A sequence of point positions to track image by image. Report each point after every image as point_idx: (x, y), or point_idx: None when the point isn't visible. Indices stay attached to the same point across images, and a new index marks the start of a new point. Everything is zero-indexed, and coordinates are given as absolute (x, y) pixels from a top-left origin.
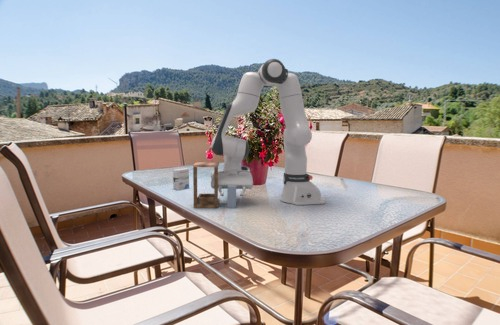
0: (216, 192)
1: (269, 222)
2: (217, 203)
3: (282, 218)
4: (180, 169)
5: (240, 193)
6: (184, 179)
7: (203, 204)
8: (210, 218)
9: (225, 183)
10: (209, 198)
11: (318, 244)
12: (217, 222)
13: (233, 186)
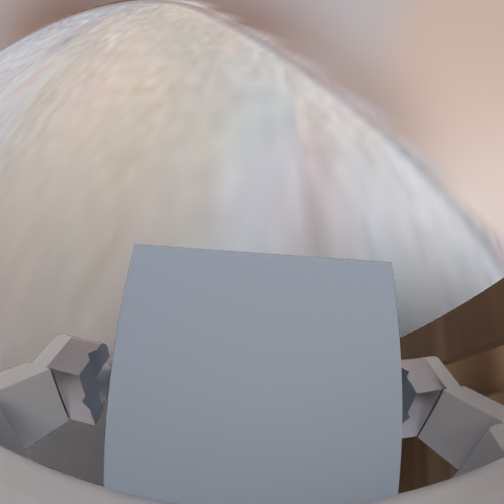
0: (487, 294)
1: (87, 86)
2: (400, 338)
3: (14, 129)
4: None
5: (92, 348)
6: None
7: (491, 375)
8: (369, 132)
9: (480, 500)
10: (492, 396)
11: (73, 22)
12: (321, 88)
13: (213, 275)
